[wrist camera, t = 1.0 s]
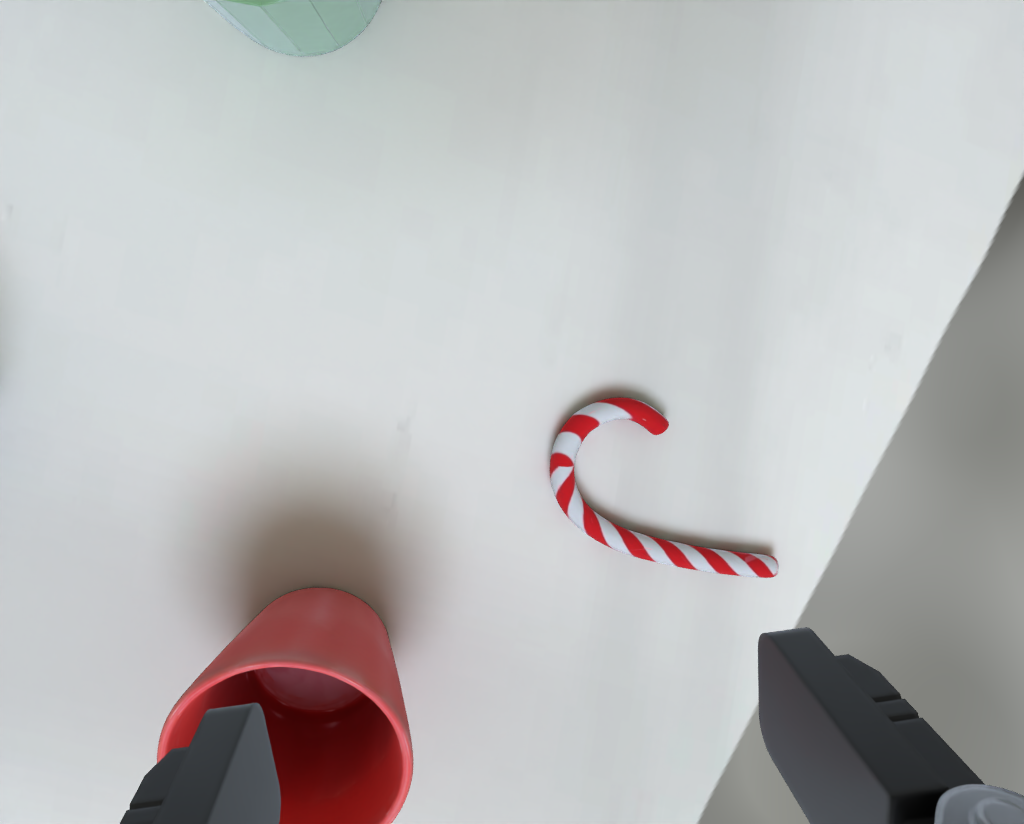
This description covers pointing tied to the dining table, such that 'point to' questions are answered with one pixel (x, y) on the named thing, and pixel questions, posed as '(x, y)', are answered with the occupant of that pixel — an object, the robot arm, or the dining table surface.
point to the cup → (298, 22)
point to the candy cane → (622, 537)
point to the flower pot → (315, 706)
